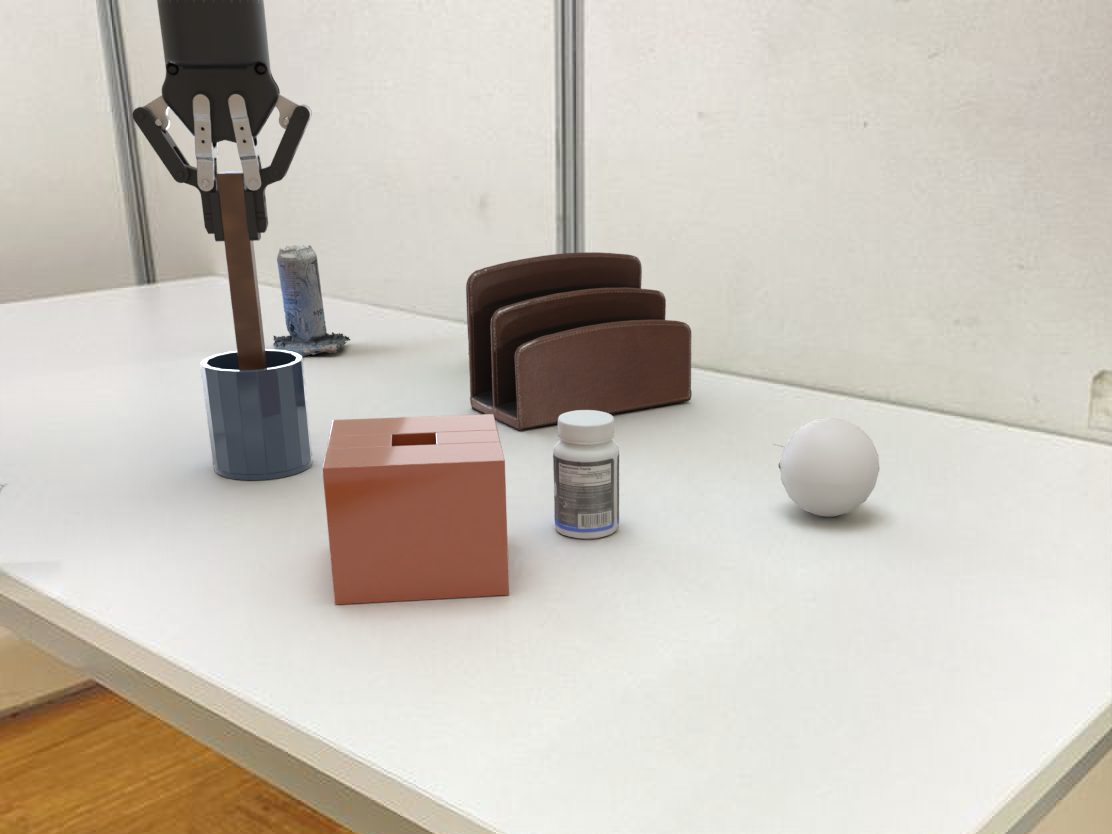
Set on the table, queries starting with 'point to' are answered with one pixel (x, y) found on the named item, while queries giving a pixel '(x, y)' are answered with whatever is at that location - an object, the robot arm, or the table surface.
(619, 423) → the table surface
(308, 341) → the beverage can
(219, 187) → the stick
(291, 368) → the cup
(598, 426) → the pill bottle
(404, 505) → the tissue box
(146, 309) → the table surface
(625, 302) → the letter holder
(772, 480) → the table surface
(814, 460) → the white ball
